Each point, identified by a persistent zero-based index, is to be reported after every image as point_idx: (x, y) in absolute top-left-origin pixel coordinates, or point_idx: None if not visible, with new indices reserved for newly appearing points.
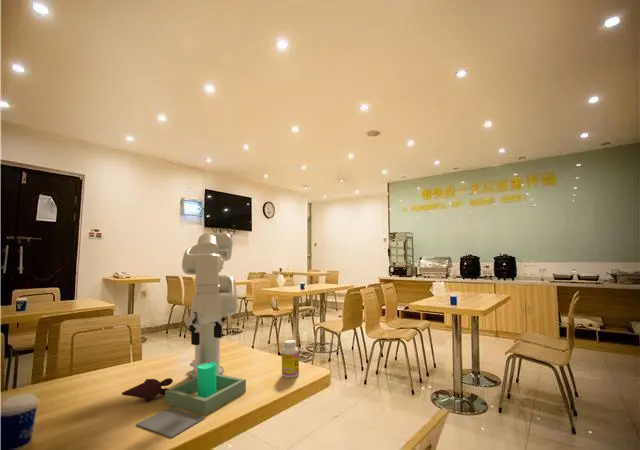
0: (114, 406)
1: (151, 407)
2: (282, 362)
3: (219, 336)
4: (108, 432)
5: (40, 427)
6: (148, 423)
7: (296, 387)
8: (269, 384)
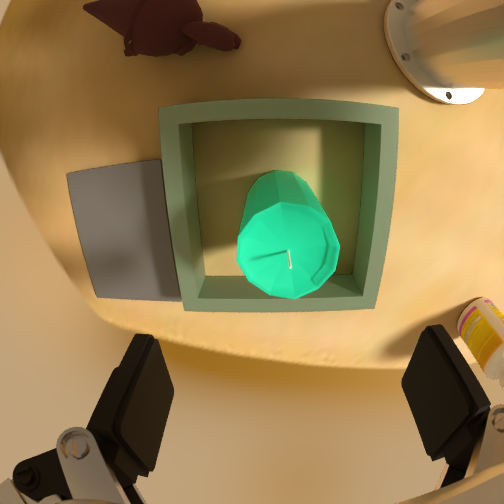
0: None
1: (136, 96)
2: (483, 331)
3: (406, 387)
4: (31, 150)
5: (2, 19)
6: (82, 200)
7: None
8: (419, 309)
